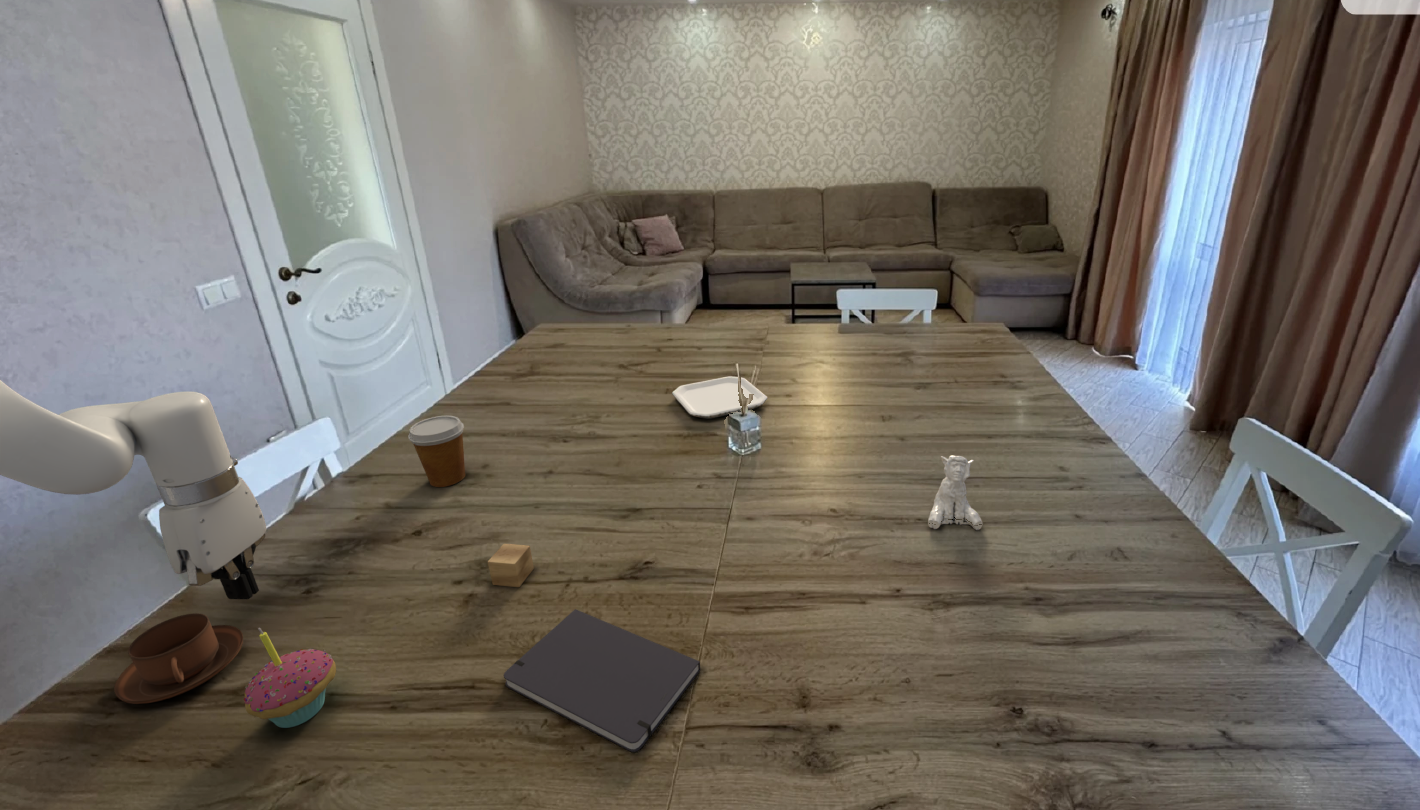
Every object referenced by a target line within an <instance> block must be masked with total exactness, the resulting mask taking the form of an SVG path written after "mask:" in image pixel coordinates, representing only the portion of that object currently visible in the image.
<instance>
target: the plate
mask: <svg viewBox="0 0 1420 810" xmlns="http://www.w3.org/2000/svg"><path fill="white" fill-rule="evenodd" d="M738 377H739V376H731V375H729V376H724V377H718V378H713V379H709V380H702V381H698V382H693V383H687V384H681V385H679V386H678V387H677V388H676V389H674V390H673V391H672V393H671V394H672V395H671V396H673V398H675V400H677V402H678V403H679V404H680V405H681V407H683V409H684V410H685V411H686V412H687V413H688V414H689V415H690V416H693V417H696V418H700V419H707V420H709V419H717V418H721V417H725V416H729V415H728V413H731V412H736V411H738V412H739V413H742V412H741V411H740V410H741V408H742V406H740V403H739V401H738V400H739V396H738V394H739V392H738ZM741 388H742V389H743V394H744V396H745V397H746V398H749V394H754V395H753V400H752V401H751V403H750V404H748V405H747V406H748V411H752V410H754V409H757V408H758V407H761V406H763V405H764V404H765V402H766V401H767V400H768V396H767V395H766V394H764V393H763V392H762V391H761V390H760V389H758V388H757V387H756V386H755V385H754V384H753V383H751V382H750V381H749V380H747V379H746V378H745V377H741ZM751 408H752V409H751Z"/></svg>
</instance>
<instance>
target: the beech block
mask: <svg viewBox="0 0 1420 810" xmlns="http://www.w3.org/2000/svg"><path fill="white" fill-rule="evenodd" d="M487 565H488V569H489V570H488V571H489V574H490V579H491V583H492V586H499V587H501V586H502V587H511V588H520V587H521V586H522V584H523V583H524V582H526V579H527V578H528V577H529V575H530V574H531V573H532V572H533V570H534V569H535V567H534V561H533V555H532V551H531V546H530V545H526V544H524V545H523V544H514V543H503V544H502V545H501V546H499V548H498V549H497V551H496V552H495V553H494V554H493V555H492V556H491V557H490V558H489V560H487Z"/></svg>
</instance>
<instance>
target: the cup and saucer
mask: <svg viewBox="0 0 1420 810" xmlns="http://www.w3.org/2000/svg"><path fill="white" fill-rule="evenodd" d="M243 644H244V635H243V632H242V630H240V629H239V628H238V627H236V626H233V625H227V624H217V625H216V624H215V625H212V623H211V621H210V619H209V617H208V615H206V614H203V613H196V612H194V613H187V614H182V615H177V616H175V617H171V618H168V619H166V620H164V621H161V622H159V623H158V624H157V623H156V624H155V625H153V626H151V627H150V628H148V629H146V630H145V631H144V632H142V633H141V634H139V635H138V636H137V637H136V638H135V639H134V640H133V641H132V642H131V643H130V645H129V647H128V649H127V654H128V656H129V658H130V660H131V661H132V662H131V663H130V664H129V665H127V667H126V668H125V669H124V670H123V671H122V672H121V674H120V675H119V676H118V677H117V680H116V681H115V683H114V688H113V691H114V695H115V696H116V697H117V698H118V699H119V700H120V701H122V702H124V703H127V704H134V705H135V704H136V705H139V704H150V703H158V702H161V701H164V700H168V699H172V698H175V697H177V696H180V695H182V694H184V693H185V694H186V693H187V692H189V691H191V690H193V689H196V688H198V687H199V686H201V685H203V684H205V683H206V682H207V681H209V680H211V679H212V678H213V677H215V676H216V675H218V674H219V673H220V672H221V671H222V670H224V669H225V668H226V667H227V666H228V665H229V664H230V663H231V662H232V661H233V660H234V659H235V658H236V656H237V655H238V653H239V652H240V650H241V649H242V646H243Z"/></svg>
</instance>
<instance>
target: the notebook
mask: <svg viewBox="0 0 1420 810" xmlns="http://www.w3.org/2000/svg"><path fill="white" fill-rule="evenodd" d="M700 672H701V662H700V660H697V659H695V658H693V657H690V656H688V655H686V654H683V653H681V652H679V651H676V650H674V649H671V648H669V647H667V646H664V645H662V644H660V643H658V642H655V641H652V640H650V639H647V638H646V637H643V636H640V635H638V634H635V633H633V632H631V631H628V630H626V629H624V628H621V627H620V626H616V625H615V624H612V623H609V622H608V621H605V620H602V619H600V618H598V617H595V616H593V615H591V614H589V613H586V612H584V611H580V610H579V609H576V608H575V609H573V610H572V611H571V612H570V613H569V614H568V615H567V616H566V617H564V618H563V619H562V620H561V621H560V622H559V623H558V624H557V625H556V626H554V627H553V628H552V629H551V630H550V631H549V632H548V633H547V634H545V635H544V636H543V637H542V638H541V639H540V640H539V641H538V642H536V643H535V644H534V645H533V646H532V647H531V648H530V649H529V650H528V651H526V652H525V653H524V654H523V655H522V656H521V657H520V658H518V659H517V660H516V661H514V663H513V664H512V665H511V666H510V667H508V668H507V670H505V672H504V673H503V678H504V679H505V683H504V684H505V687H506V688H508V689H510V690H512V691H513V692H515V693H518V694H519V695H522V696H523V697H525V698H527V699H529V700H531V701H533V702H535V703H537V704H539V705H540V706H542V707H545V708H547V709H548V710H550V711H552V712H554V713H557V714H558V715H560V716H562V717H564V718H566V719H567V720H569V721H571V722H573V723H575V724H577V725H579V726H581V727H583V728H585V729H587V730H589V731H591V732H593V733H595V734H596V735H598V736H600V737H602V738H604V739H605V740H608V741H610V742H611V743H614V744H616V745H617V746H619V747H621V748H623V749H625V750H627V751H628V752H631V753H636V752H639V751H640V750H641V749H642V748H643V747H644V745H645V744H646V742H647V741H648V740H649V739H650V738H651V737H652V735H653V733H654V732H655V731H656V729H657V728H658V727H659V725H660V724H661V723H662V722H663V720H664V719H665V718H666V716H667V715H668V714H669V712H670V711H671V709H672V708H673V707H674V706H675V705H676V703H677V702H678V700H679V699H680V698H681V697H682V695H683V694H684V693H685V691H686V690H687V689H688V687H689V686H690V685H691V683H692V682H693V681H694V679H695V678H696V677H697V675H698V674H699V673H700Z"/></svg>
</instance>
